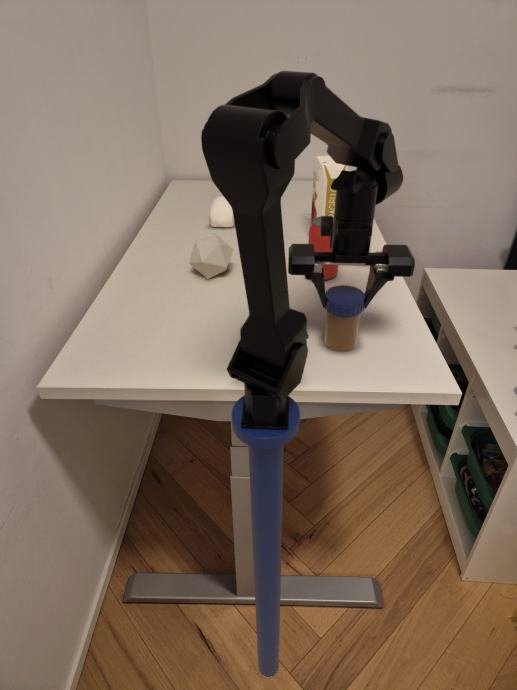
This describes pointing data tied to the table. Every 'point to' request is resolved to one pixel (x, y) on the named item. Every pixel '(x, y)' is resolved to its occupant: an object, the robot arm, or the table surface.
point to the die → (210, 255)
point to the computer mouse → (221, 213)
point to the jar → (341, 332)
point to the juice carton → (324, 186)
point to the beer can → (322, 247)
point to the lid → (345, 301)
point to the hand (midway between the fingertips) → (344, 306)
